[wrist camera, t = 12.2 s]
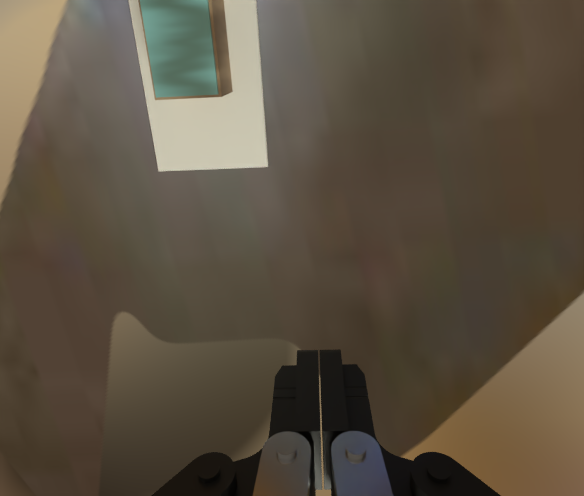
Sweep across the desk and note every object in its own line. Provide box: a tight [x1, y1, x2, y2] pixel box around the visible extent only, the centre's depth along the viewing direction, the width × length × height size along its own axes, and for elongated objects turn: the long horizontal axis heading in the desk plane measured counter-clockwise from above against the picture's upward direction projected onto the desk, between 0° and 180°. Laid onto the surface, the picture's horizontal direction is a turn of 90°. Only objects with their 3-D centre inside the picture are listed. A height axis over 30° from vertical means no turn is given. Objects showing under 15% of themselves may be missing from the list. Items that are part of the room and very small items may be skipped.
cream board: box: [128, 0, 268, 171], centre depth 36 cm, size 10×19×1 cm, turn 3°
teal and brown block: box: [138, 0, 233, 100], centre depth 32 cm, size 5×5×12 cm
